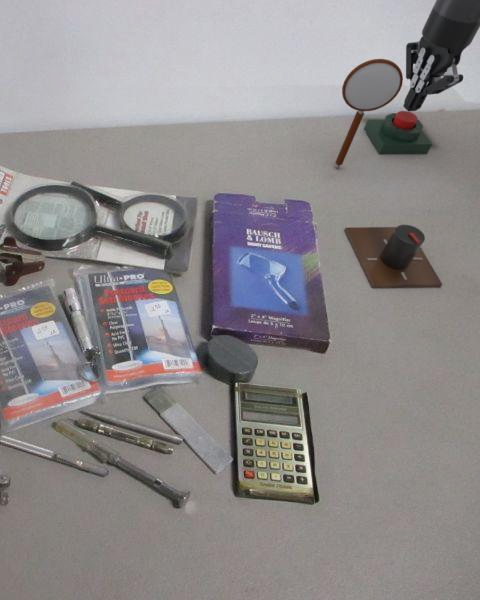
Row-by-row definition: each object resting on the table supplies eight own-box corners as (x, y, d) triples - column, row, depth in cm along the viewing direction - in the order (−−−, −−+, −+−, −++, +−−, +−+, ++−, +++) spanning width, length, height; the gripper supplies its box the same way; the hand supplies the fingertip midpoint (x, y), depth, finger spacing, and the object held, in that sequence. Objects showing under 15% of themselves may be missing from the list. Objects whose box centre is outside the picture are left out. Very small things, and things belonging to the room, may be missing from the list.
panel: (401, 238, 93) (409, 225, 91) (434, 296, 86) (443, 283, 83) (339, 239, 93) (345, 226, 91) (366, 297, 85) (373, 284, 83)
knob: (375, 251, 88) (390, 225, 84) (399, 247, 88) (415, 221, 84) (390, 271, 85) (406, 244, 81) (414, 266, 86) (432, 240, 82)
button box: (409, 129, 113) (418, 110, 110) (426, 154, 108) (437, 135, 105) (363, 129, 113) (371, 110, 110) (378, 154, 108) (387, 135, 105)
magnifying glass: (312, 168, 105) (354, 59, 90) (311, 162, 106) (353, 54, 91) (362, 173, 104) (414, 65, 89) (361, 167, 105) (411, 59, 90)
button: (408, 119, 109) (412, 110, 108) (416, 130, 107) (421, 121, 105) (389, 119, 109) (393, 110, 108) (397, 130, 107) (401, 121, 105)
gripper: (509, 27, 89) (450, 127, 102) (455, -10, 97) (408, 87, 110) (465, 30, 88) (411, 132, 101) (414, -7, 96) (371, 91, 109)
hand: (409, 108), depth 106 cm, fingers closed
